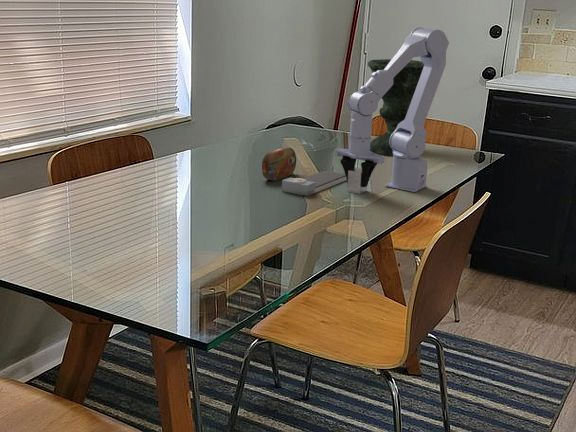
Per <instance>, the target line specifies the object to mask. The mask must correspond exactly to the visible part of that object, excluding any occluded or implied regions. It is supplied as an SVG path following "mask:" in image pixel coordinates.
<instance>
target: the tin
mask: <svg viewBox="0 0 576 432" xmlns="http://www.w3.org/2000/svg"><path fill="white" fill-rule="evenodd" d="M296 164H297V155H296V152H295V150H294V149H293V148H292V147H281V148H278V149H275V150H272V151H268V152H266V154H265V155H264V156H263V159H262V161H261V171H262V176H263V177H264V178H265V180H268V181H273V182H276V181H280V180H281V179H282V180H283V179H286V178H288V177H289V176H292V174H293V173H294V172H295V169H296V166H297V165H296Z"/></svg>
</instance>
